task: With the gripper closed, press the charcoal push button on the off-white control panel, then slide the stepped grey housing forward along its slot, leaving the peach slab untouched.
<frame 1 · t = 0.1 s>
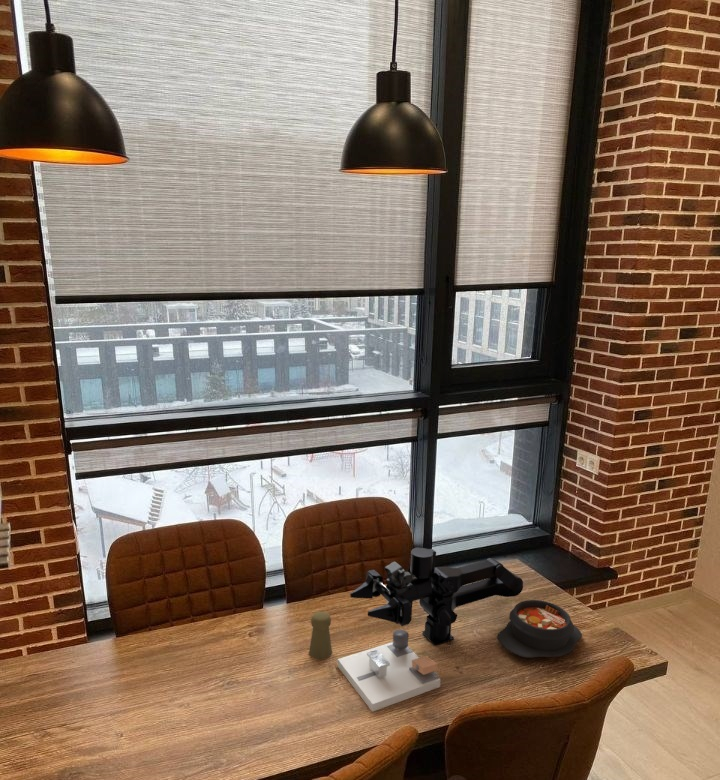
hand: (359, 604, 155), 17 cm above the table, tool horizontal, fingers open, 9 cm apart
button: (400, 639, 161), point 5 cm above the table, slide at 0.0 cm
panel: (387, 676, 154), on the table
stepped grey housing: (377, 664, 151), point 4 cm above the table, slide at 0.0 cm
casserole: (539, 642, 170), on the table
olive pawn: (320, 652, 162), on the table
peach slab: (424, 665, 151), point 5 cm above the table, hinge at 12.0°
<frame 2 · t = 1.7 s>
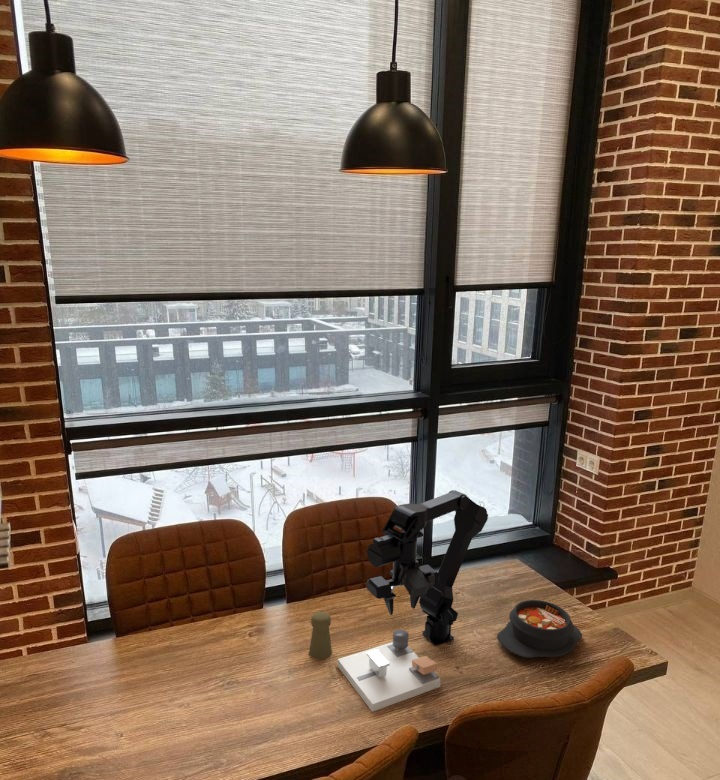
hand: (401, 611, 159), 13 cm above the table, tool pointing down, fingers open, 6 cm apart
nothing on the table moved.
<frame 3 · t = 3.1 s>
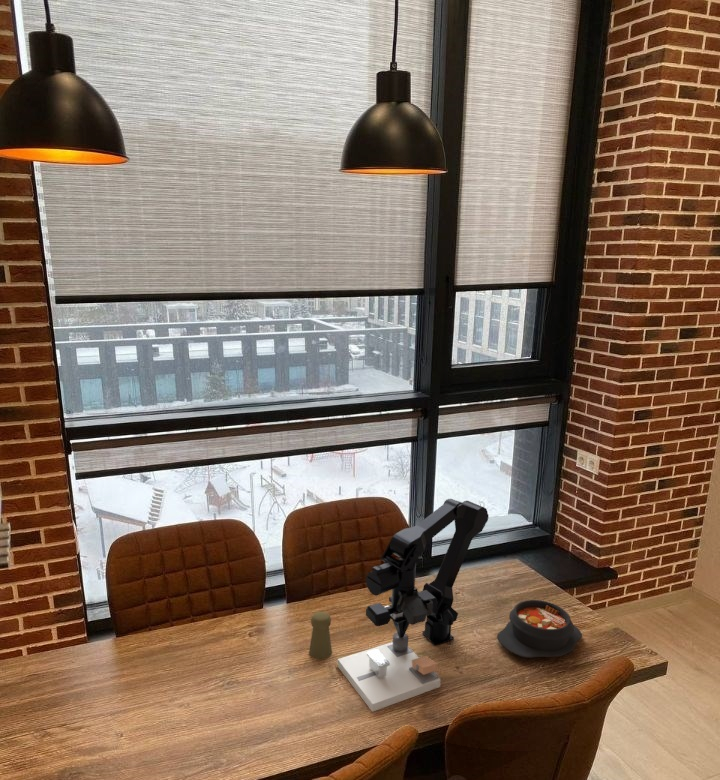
hand: (401, 636, 160), 6 cm above the table, tool pointing down, fingers closed, pressing on button
button: (400, 641, 161), point 4 cm above the table, slide at 0.8 cm, touching gripper
everything else where it was.
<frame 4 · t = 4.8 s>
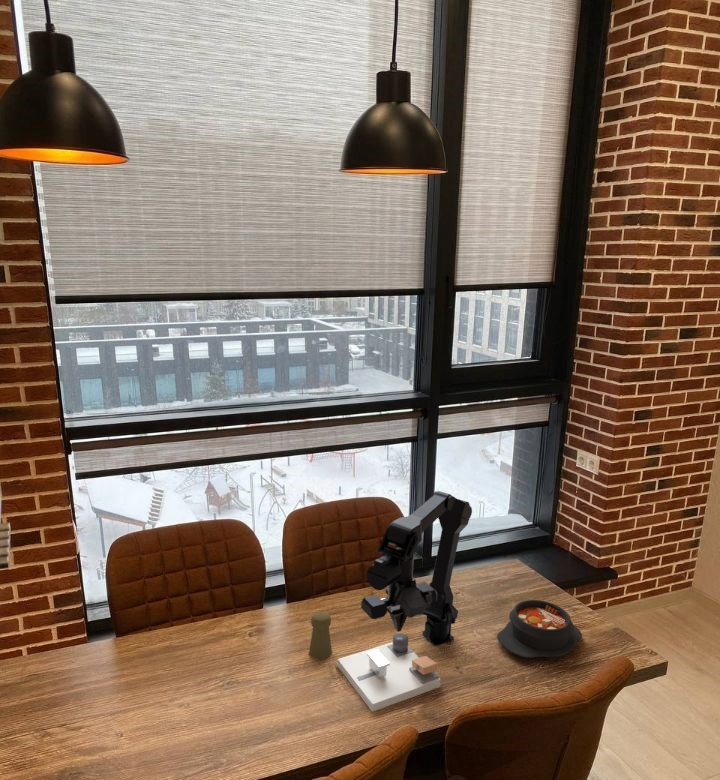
hand: (398, 630, 152), 12 cm above the table, tool pointing down, fingers closed
button: (400, 643, 161), point 4 cm above the table, slide at 1.1 cm
everything else where it was.
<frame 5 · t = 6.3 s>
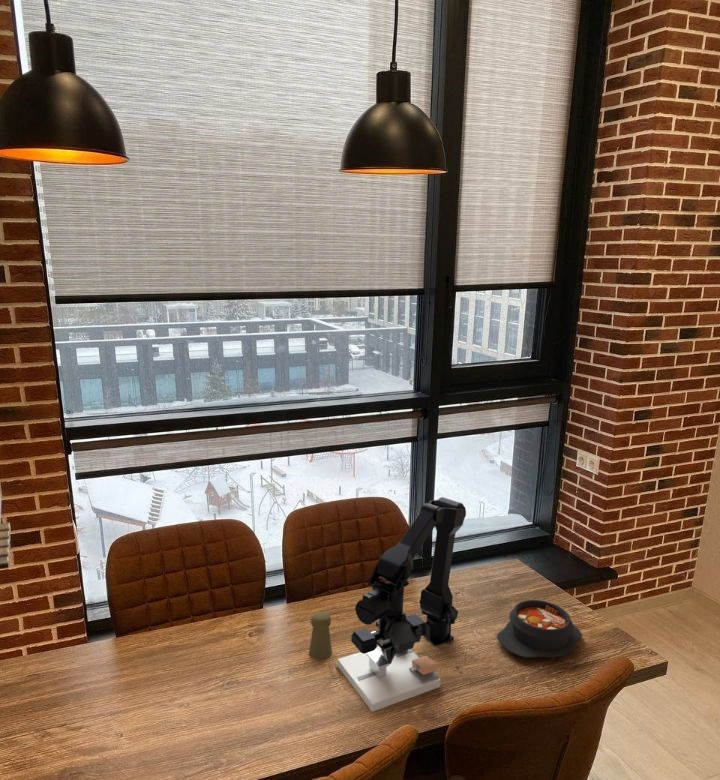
hand: (388, 663, 153), 4 cm above the table, tool pointing down, fingers closed
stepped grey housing: (377, 664, 151), point 4 cm above the table, slide at 0.0 cm, touching gripper
everything else where it was.
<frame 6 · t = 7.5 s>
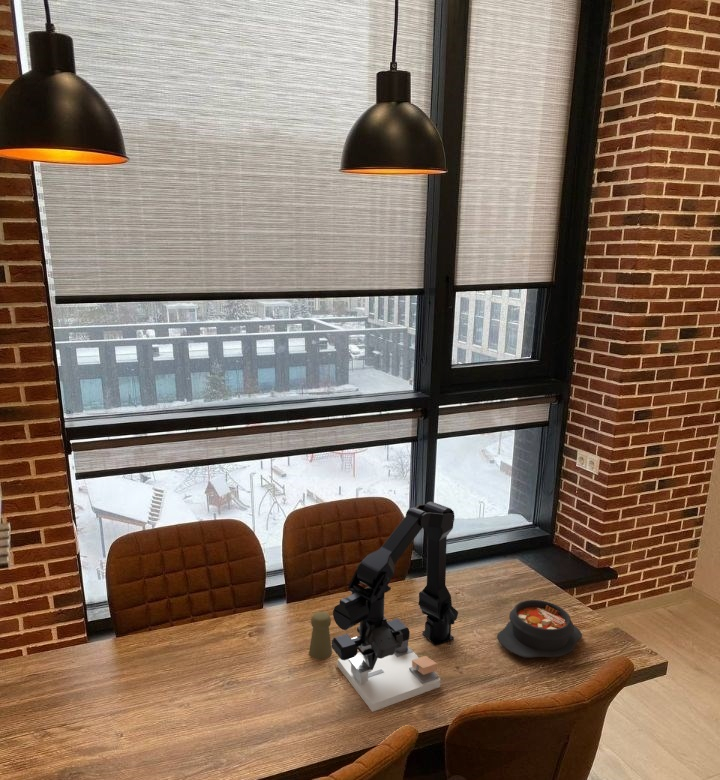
hand: (370, 669, 150), 4 cm above the table, tool pointing down, fingers closed
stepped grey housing: (359, 670, 149), point 4 cm above the table, slide at 5.1 cm, touching gripper
everything else where it was.
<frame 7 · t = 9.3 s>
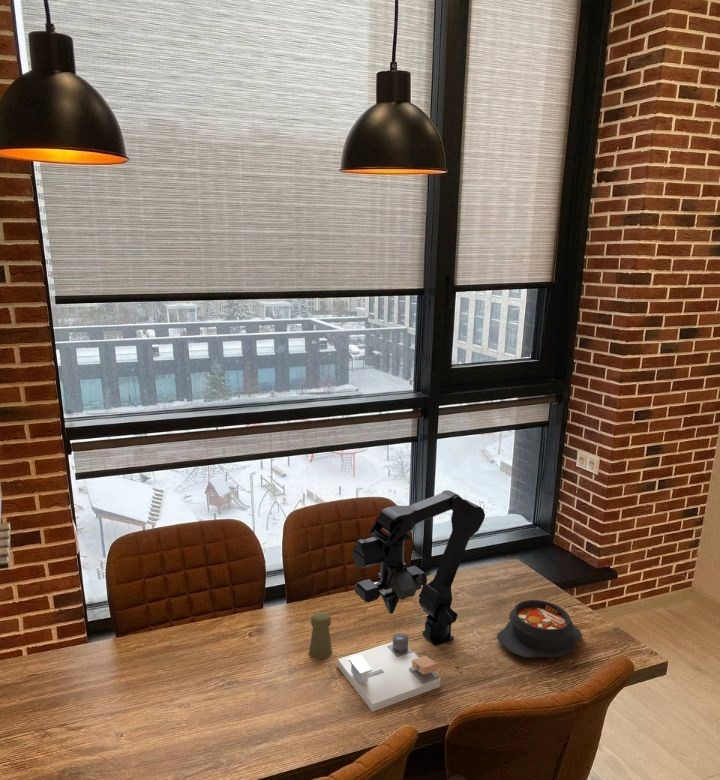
hand: (390, 612, 159), 12 cm above the table, tool pointing down, fingers closed
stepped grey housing: (359, 670, 149), point 4 cm above the table, slide at 5.1 cm
everything else where it was.
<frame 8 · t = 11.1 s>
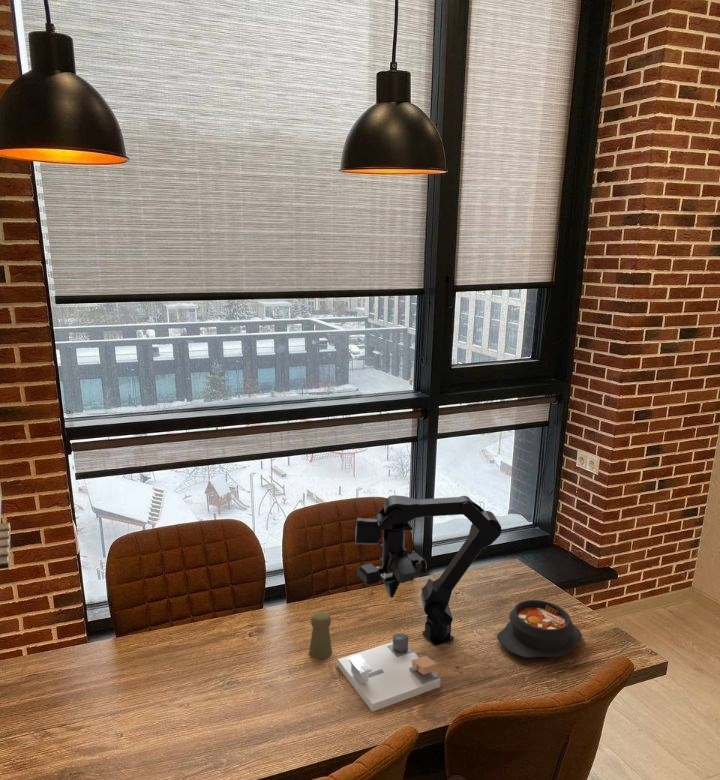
hand: (391, 596, 167), 12 cm above the table, tool pointing down, fingers closed
nothing on the table moved.
at the end: button slide at 1.1 cm; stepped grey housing slide at 5.1 cm; peach slab at +12° (first picture: +12°) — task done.
